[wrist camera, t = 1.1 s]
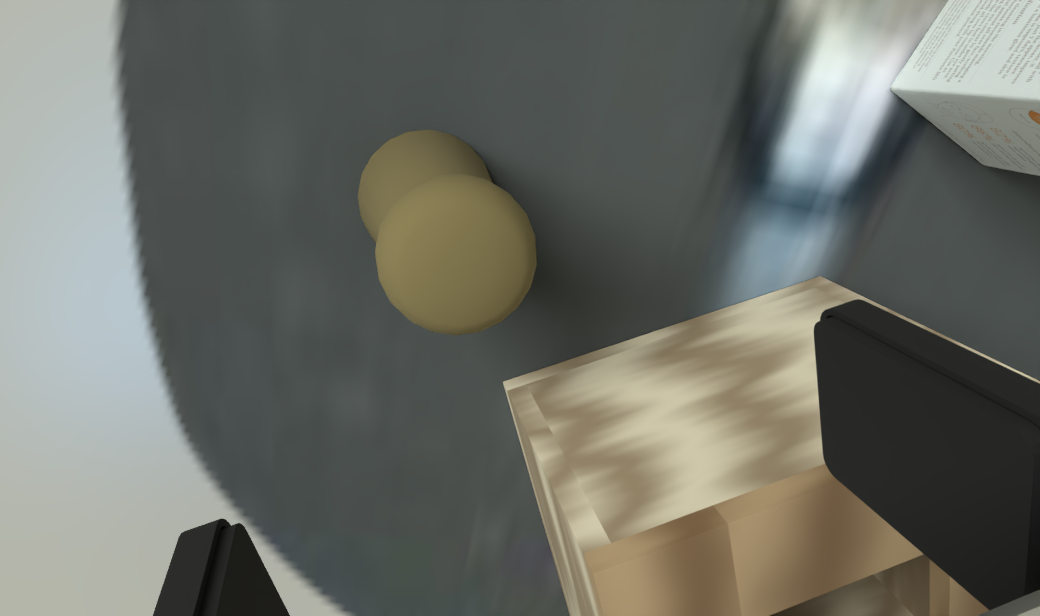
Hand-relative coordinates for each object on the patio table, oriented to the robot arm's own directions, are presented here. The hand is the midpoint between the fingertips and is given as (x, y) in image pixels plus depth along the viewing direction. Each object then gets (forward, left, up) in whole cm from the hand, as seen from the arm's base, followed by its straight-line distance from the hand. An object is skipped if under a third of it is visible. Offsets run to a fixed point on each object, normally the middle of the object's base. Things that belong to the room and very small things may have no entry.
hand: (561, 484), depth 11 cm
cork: (0, 0, -22) cm, 22 cm away
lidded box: (-10, +19, -22) cm, 31 cm away
